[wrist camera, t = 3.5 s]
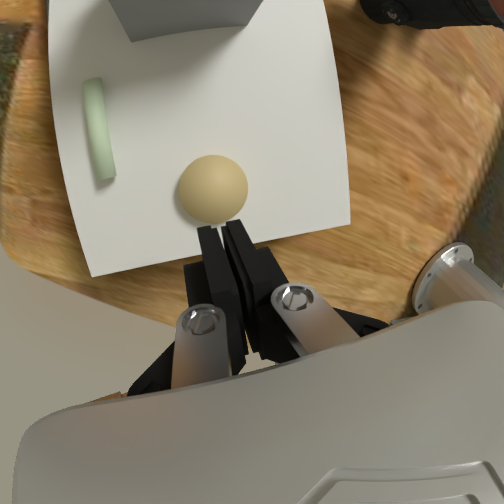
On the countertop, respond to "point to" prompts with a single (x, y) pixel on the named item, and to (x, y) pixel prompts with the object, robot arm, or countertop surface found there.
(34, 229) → the countertop surface
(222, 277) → the robot arm
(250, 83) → the leveling plate
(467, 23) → the scope
